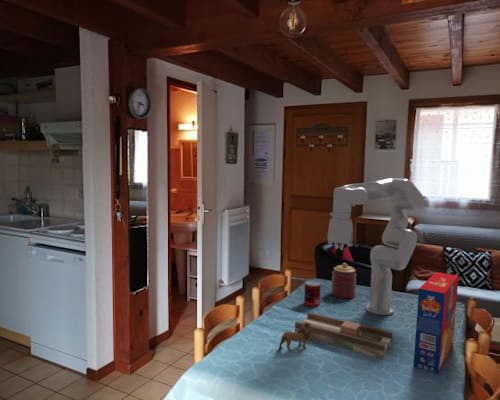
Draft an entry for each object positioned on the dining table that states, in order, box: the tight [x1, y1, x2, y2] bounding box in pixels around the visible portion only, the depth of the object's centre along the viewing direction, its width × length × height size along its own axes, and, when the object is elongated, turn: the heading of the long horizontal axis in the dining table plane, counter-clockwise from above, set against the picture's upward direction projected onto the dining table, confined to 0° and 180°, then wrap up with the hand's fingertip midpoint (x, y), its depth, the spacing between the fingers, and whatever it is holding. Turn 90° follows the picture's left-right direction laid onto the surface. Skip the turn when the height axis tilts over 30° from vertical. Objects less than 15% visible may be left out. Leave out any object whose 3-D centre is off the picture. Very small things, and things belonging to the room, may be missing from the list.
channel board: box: [294, 311, 393, 360], centre depth 155 cm, size 14×35×5 cm, turn 58°
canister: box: [330, 262, 358, 300], centre depth 210 cm, size 13×13×18 cm
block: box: [340, 320, 362, 337], centre depth 153 cm, size 6×6×4 cm
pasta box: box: [413, 271, 459, 375], centre depth 143 cm, size 28×8×28 cm, turn 144°
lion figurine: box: [277, 322, 312, 352], centre depth 146 cm, size 15×5×9 cm, turn 119°
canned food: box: [303, 280, 322, 308], centre depth 194 cm, size 8×8×11 cm
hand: (339, 258), depth 169 cm, fingers closed
